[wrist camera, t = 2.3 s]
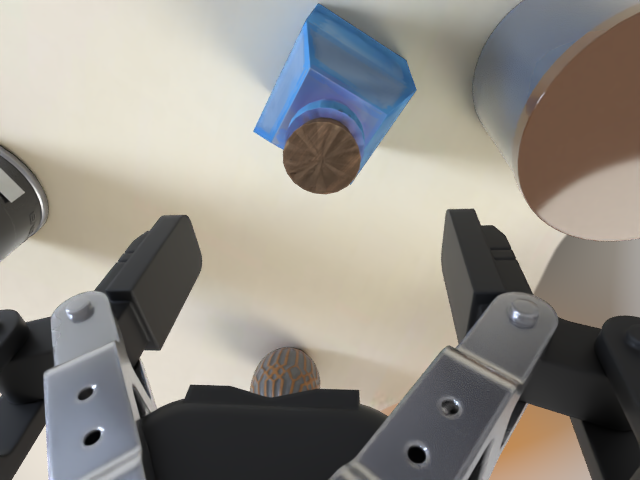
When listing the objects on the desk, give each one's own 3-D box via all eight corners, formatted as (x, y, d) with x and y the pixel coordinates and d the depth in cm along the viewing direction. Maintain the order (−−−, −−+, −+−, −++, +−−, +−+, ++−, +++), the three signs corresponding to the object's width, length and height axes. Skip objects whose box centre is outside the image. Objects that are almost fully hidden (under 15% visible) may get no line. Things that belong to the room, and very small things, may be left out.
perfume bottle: (353, 142, 28) (347, 244, 19) (273, 96, 27) (223, 182, 17) (406, 60, 25) (432, 134, 15) (318, 3, 24) (286, 45, 14)
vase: (288, 328, 41) (273, 409, 34) (336, 362, 43) (330, 444, 36) (245, 355, 44) (223, 435, 37) (292, 386, 46) (279, 466, 39)
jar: (434, 83, 26) (467, 149, 18) (594, -80, 20) (747, -92, 12) (533, 181, 29) (599, 275, 21) (692, 63, 24) (864, 127, 16)
